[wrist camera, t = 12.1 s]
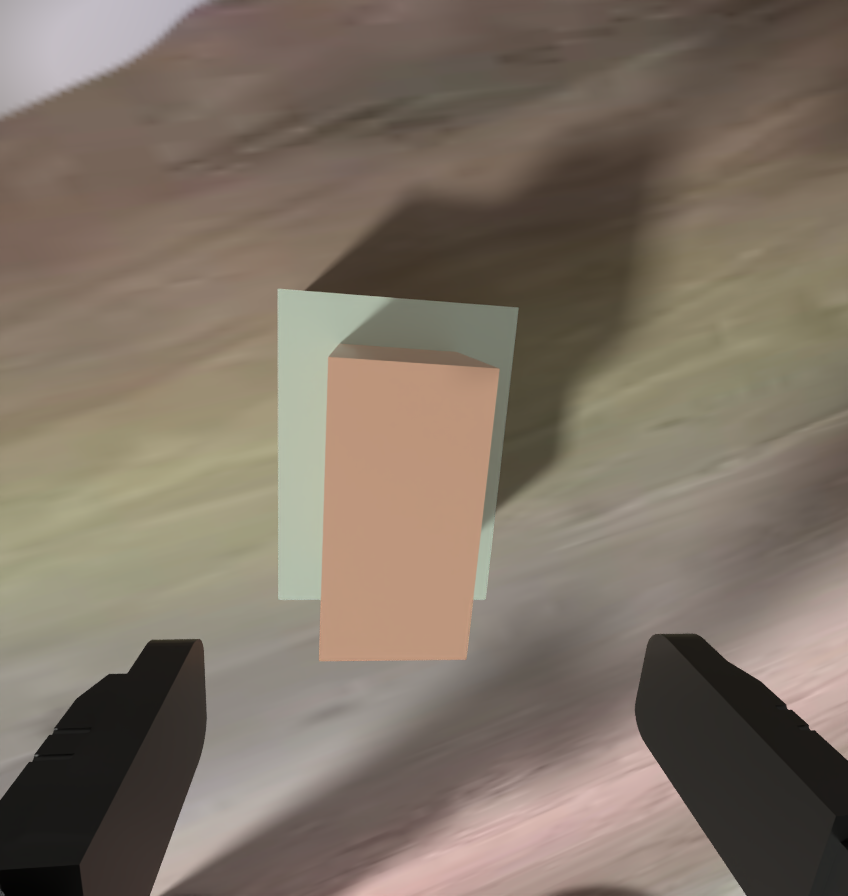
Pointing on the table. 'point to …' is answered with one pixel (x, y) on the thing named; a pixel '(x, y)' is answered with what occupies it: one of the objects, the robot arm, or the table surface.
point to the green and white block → (305, 404)
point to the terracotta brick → (403, 501)
